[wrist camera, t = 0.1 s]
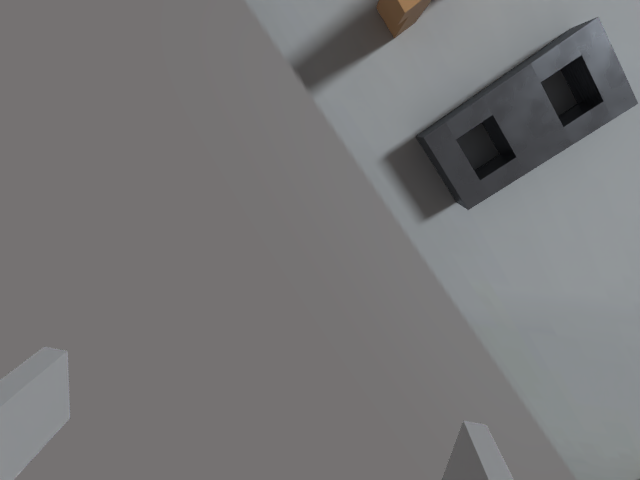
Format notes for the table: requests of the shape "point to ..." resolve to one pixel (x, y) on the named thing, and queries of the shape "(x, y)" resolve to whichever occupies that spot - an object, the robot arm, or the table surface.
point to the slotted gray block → (531, 113)
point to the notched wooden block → (401, 13)
